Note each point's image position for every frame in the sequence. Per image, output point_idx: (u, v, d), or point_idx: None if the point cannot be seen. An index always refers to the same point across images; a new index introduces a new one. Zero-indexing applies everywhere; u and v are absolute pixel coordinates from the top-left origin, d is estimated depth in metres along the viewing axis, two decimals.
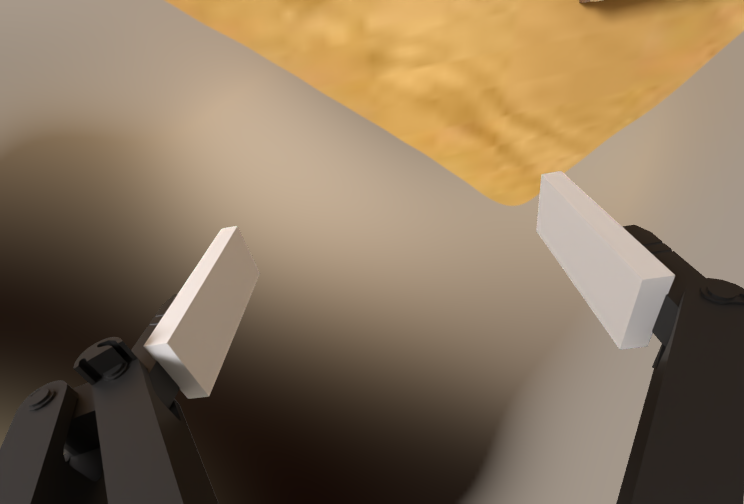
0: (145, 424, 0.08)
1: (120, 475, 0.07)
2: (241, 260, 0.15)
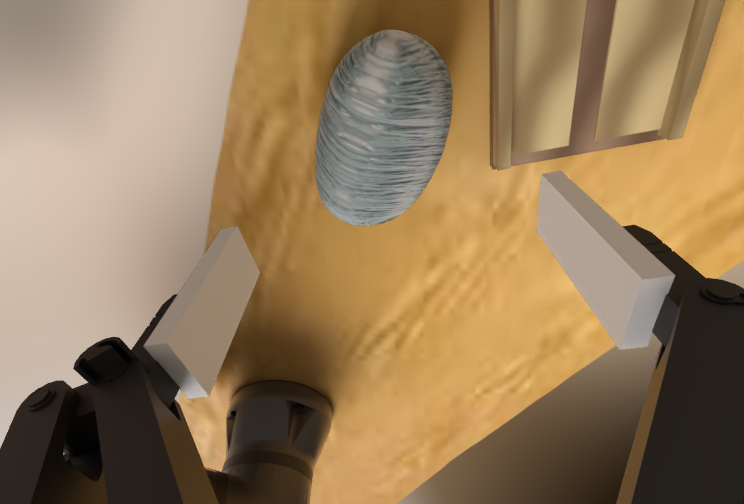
0: (144, 424, 0.08)
1: (120, 475, 0.07)
2: (241, 260, 0.15)
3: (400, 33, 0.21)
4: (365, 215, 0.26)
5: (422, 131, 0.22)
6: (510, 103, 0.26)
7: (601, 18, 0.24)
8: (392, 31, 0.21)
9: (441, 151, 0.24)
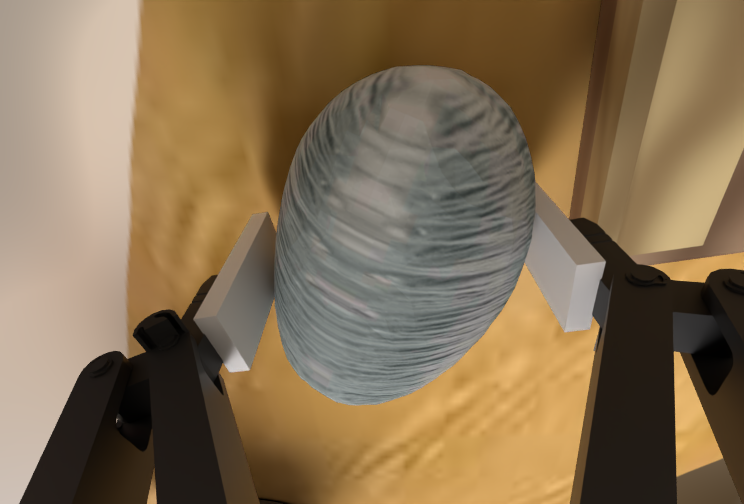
0: (191, 396, 0.09)
1: (167, 442, 0.08)
2: (271, 245, 0.16)
3: (439, 77, 0.09)
4: (364, 399, 0.14)
5: (484, 280, 0.10)
6: (626, 189, 0.14)
7: None
8: (420, 72, 0.09)
9: (510, 294, 0.12)
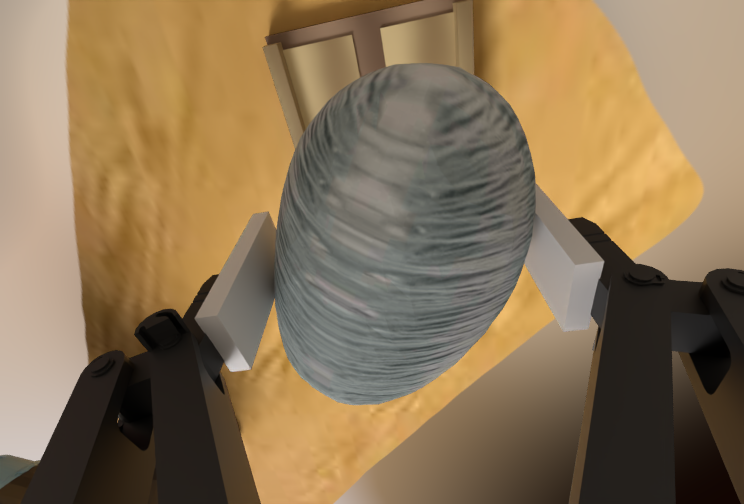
0: (192, 396, 0.09)
1: (168, 442, 0.08)
2: (272, 244, 0.16)
3: (437, 74, 0.09)
4: (365, 399, 0.14)
5: (484, 278, 0.10)
6: None
7: None
8: (418, 70, 0.09)
9: None
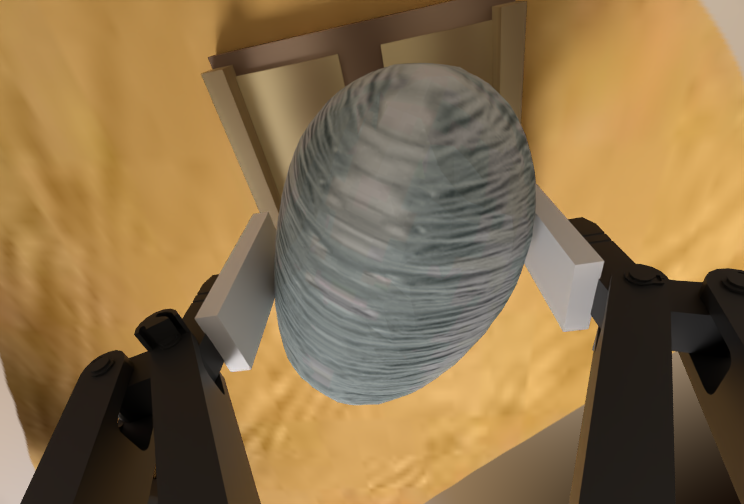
0: (193, 396, 0.09)
1: (168, 442, 0.08)
2: (272, 244, 0.16)
3: (437, 74, 0.09)
4: (365, 399, 0.14)
5: (484, 279, 0.10)
6: None
7: None
8: (418, 69, 0.09)
9: (511, 293, 0.12)
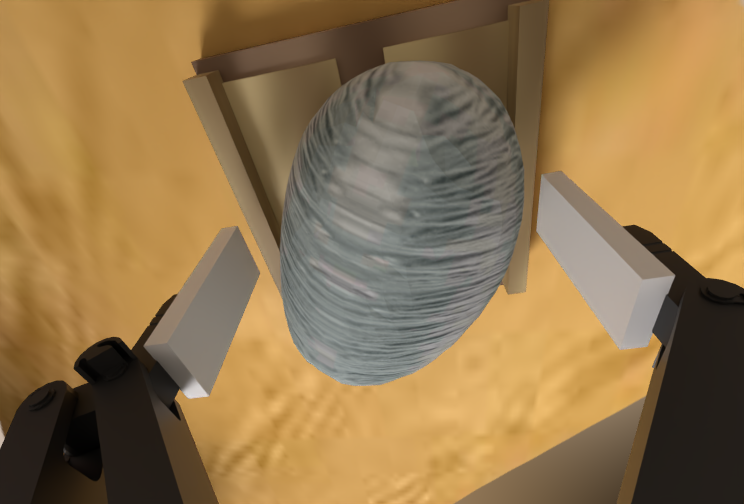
0: (145, 424, 0.08)
1: (120, 475, 0.07)
2: (241, 260, 0.15)
3: (428, 70, 0.10)
4: (367, 379, 0.15)
5: (475, 260, 0.11)
6: (278, 255, 0.19)
7: None
8: (411, 66, 0.10)
9: (503, 276, 0.13)
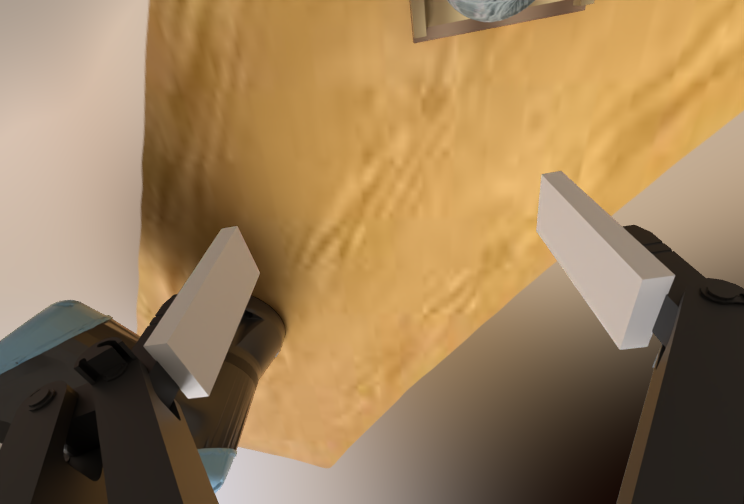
0: (145, 424, 0.08)
1: (120, 475, 0.07)
2: (241, 260, 0.15)
3: None
4: None
5: None
6: None
7: None
8: None
9: None
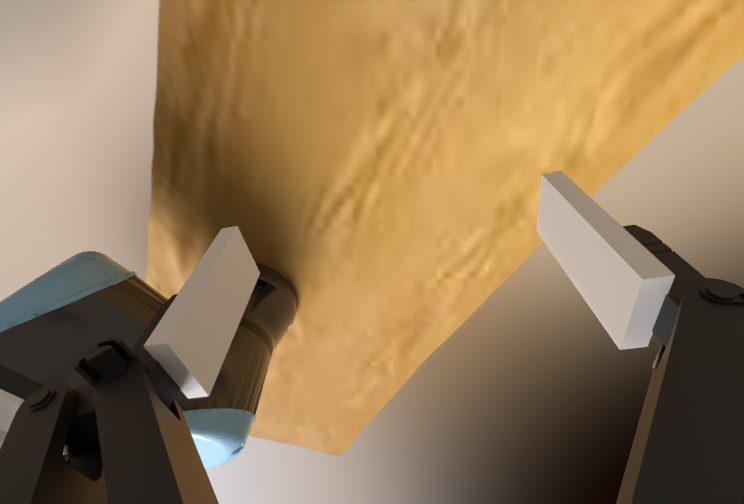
0: (145, 424, 0.08)
1: (120, 475, 0.07)
2: (241, 260, 0.15)
3: None
4: None
5: None
6: None
7: None
8: None
9: None
